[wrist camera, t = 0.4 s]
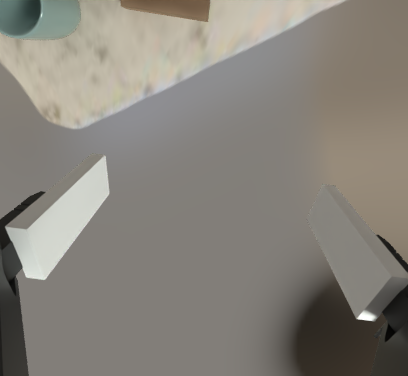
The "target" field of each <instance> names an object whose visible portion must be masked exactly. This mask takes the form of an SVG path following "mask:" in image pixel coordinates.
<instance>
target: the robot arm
mask: <svg viewBox="0 0 408 376" xmlns="http://www.w3.org/2000/svg"><path fill="white" fill-rule="evenodd" d="M108 195H109V185H108V176H107V167H106V157H105V155H101V154H94V153H92V154H91V155H90V156H89V157H87V158H86V159H85V160H84V161H83V162H82V163H80V164H79V165H78V166H77V167H75V168H74V169H73V170H72V171H71V172H69V173H68V174H67V175H66V176H65V177H64V178H62V179H61V180H60V181H59V182H58V183H57V184H55V185H54V186H53V187H52V188H50V189H49V190H48V191H47V192H42V191H41V192H39V193H36V194H34V195H32V196H30V197H28V198H27V199H26V200H25V201H23V202H22V203H21V205H18V206H17V207H16V208H14V210H12V211H11V212H9V213H8V214H7V215H5V216H4V217H3V218H2V219H0V376H29V374H28V366H27V357H26V348H25V340H24V331H23V323H22V314H21V305H20V297H19V288H18V280H17V278H16V274H17V273H18V272H19V271H20V270H21V269H22V268H23V270H24V273H25V275H26V277H27V278H35V279H43V280H45V279H46V278H47V276H48V275H49V274H50V272H51V271H52V270H53V268H54V267H55V266H56V264H57V263H58V262H59V260H60V259H61V258H62V256H63V255H64V254H65V252H66V251H67V250H68V248H69V247H70V246H71V244H72V243H73V242H74V240H75V239H76V238H77V236H78V235H79V234H80V232H81V231H82V230H83V228H84V227H85V226H86V224H87V223H88V222H89V220H90V219H91V217H92V216H93V215H94V214H95V212H96V211H97V210H98V208H99V207H100V206H101V204H102V203H103V202H104V200H105V199H106V198H107V196H108ZM307 221H308V223H309V225H310V227H311V229H312V231H313V233H314V235H315V237H316V239H317V241H318V243H319V245H320V247H321V249H322V251H323V253H324V255H325V257H326V259H327V261H328V263H329V265H330V267H331V269H332V271H333V273H334V275H335V277H336V279H337V281H338V283H339V285H340V287H341V289H342V291H343V293H344V295H345V296H346V299H347V301H348V303H349V305H350V307H351V309H352V311H353V312H354V315H355V316H356V319H361V320H370V321H375V320H376V319H377V318H378V317H379V316H380V314H381V313H383V314H384V316H385V318H386V319H387V322H386V323H385V324H384V325H383V326H382V328H380V329H379V330H378V332H377V333H376V334H375V335H374V337H375V338H377V337H378V336H379V335H381V336H380V340H379V344H378V348H377V352H376V356H375V360H374V364H373V368H372V371H371V375H370V376H408V264H407V263H406V262H405V261H404V260H402V257H401V256H400V255H399V254H398V253H396V250H395V249H394V248H393V247H392V246H391V245H390V244H389V243H388V242H387V241H386V240H385V239H383V238H382V237H381V236H379V235H375V233H374V232H373V231H372V230H371V228H370V227H369V226H368V225H367V224H366V222H365V221H364V220H363V219H362V218H361V217H360V215H359V214H358V213H357V212H356V211H355V209H354V208H353V207H352V206H351V204H350V203H349V202H348V201H347V200H346V198H345V197H344V196H343V195H342V194H341V193H340V191H339V190H338V189H337V188H336V186H334V185H326V184H322V186H321V188H320V190H319V193H318V195H317V197H316V199H315V202H314V204H313V206H312V208H311V211H310V213H309V215H308V217H307Z"/></svg>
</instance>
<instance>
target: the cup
mask: <svg viewBox="0 0 408 376" xmlns="http://www.w3.org/2000/svg"><path fill="white" fill-rule="evenodd" d="M80 19H81V10H80V5H79V2H78V0H0V32H1V33H2V34H4V35H6V36H9V37H11V38H16V39H23V40H57V39H61V38H64V37H67V36H69V35H70V34H72V33H73V32H74V31H75V30H76V28H77V27H78V25H79V23H80Z"/></svg>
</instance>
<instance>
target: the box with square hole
mask: <svg viewBox="0 0 408 376" xmlns="http://www.w3.org/2000/svg"><path fill="white" fill-rule="evenodd" d="M121 6H122V7H124V8H126V9H130V10H136V11H143V12H149V13H155V14H161V15H167V16H174V17H180V18H186V19H192V20H198V21H205V22H208V16H209V7H210V0H121Z"/></svg>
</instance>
